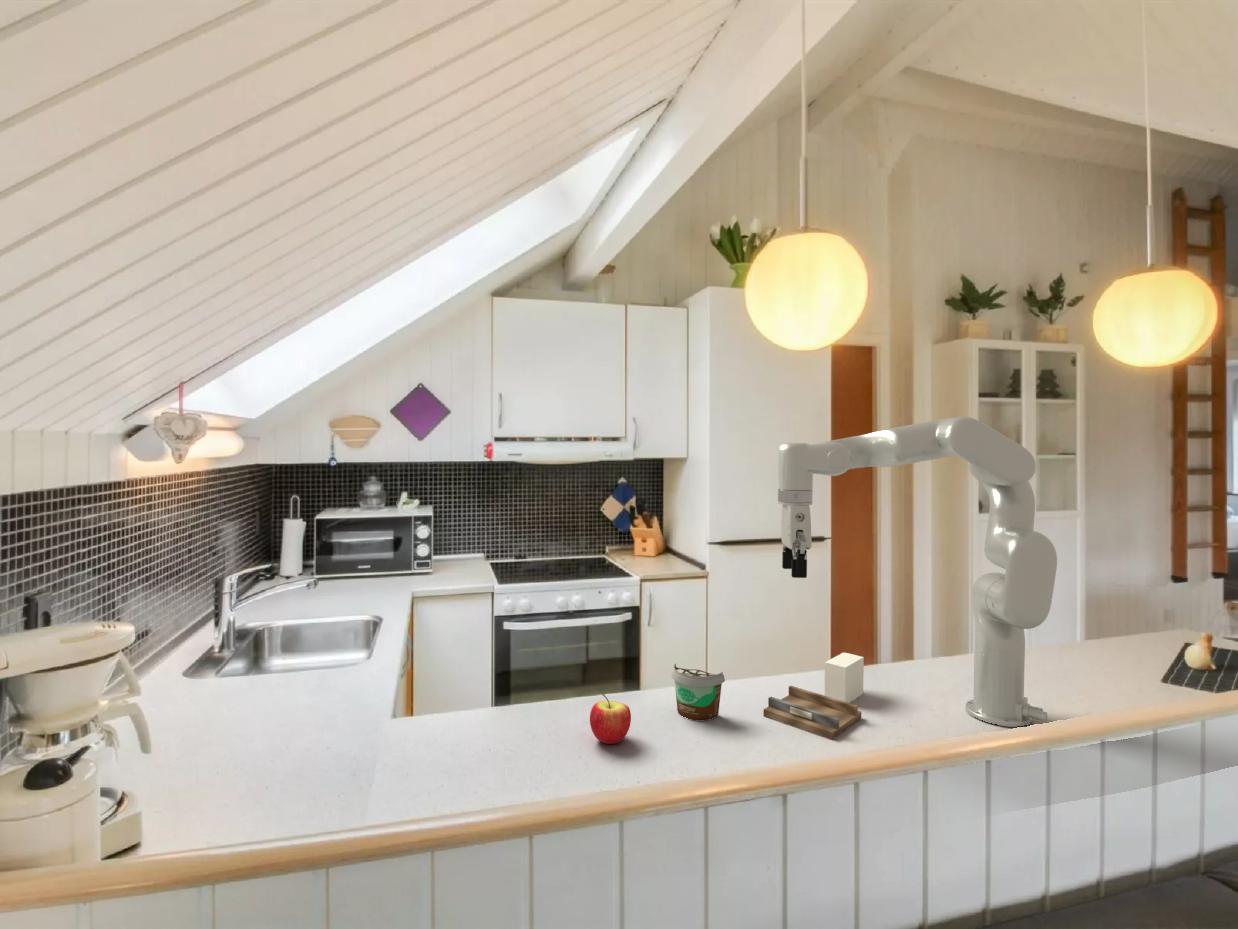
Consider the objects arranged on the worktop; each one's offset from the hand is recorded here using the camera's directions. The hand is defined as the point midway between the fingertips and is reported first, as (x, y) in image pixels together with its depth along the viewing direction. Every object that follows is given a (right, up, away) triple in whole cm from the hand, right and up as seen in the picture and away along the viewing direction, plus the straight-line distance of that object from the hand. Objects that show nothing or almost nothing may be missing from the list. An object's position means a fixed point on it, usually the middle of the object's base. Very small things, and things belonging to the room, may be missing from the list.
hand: (794, 572), depth 141 cm
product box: (+14, -31, +8) cm, 35 cm away
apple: (-41, -32, -15) cm, 54 cm away
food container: (-23, -31, -3) cm, 39 cm away
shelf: (+3, -31, -4) cm, 32 cm away
